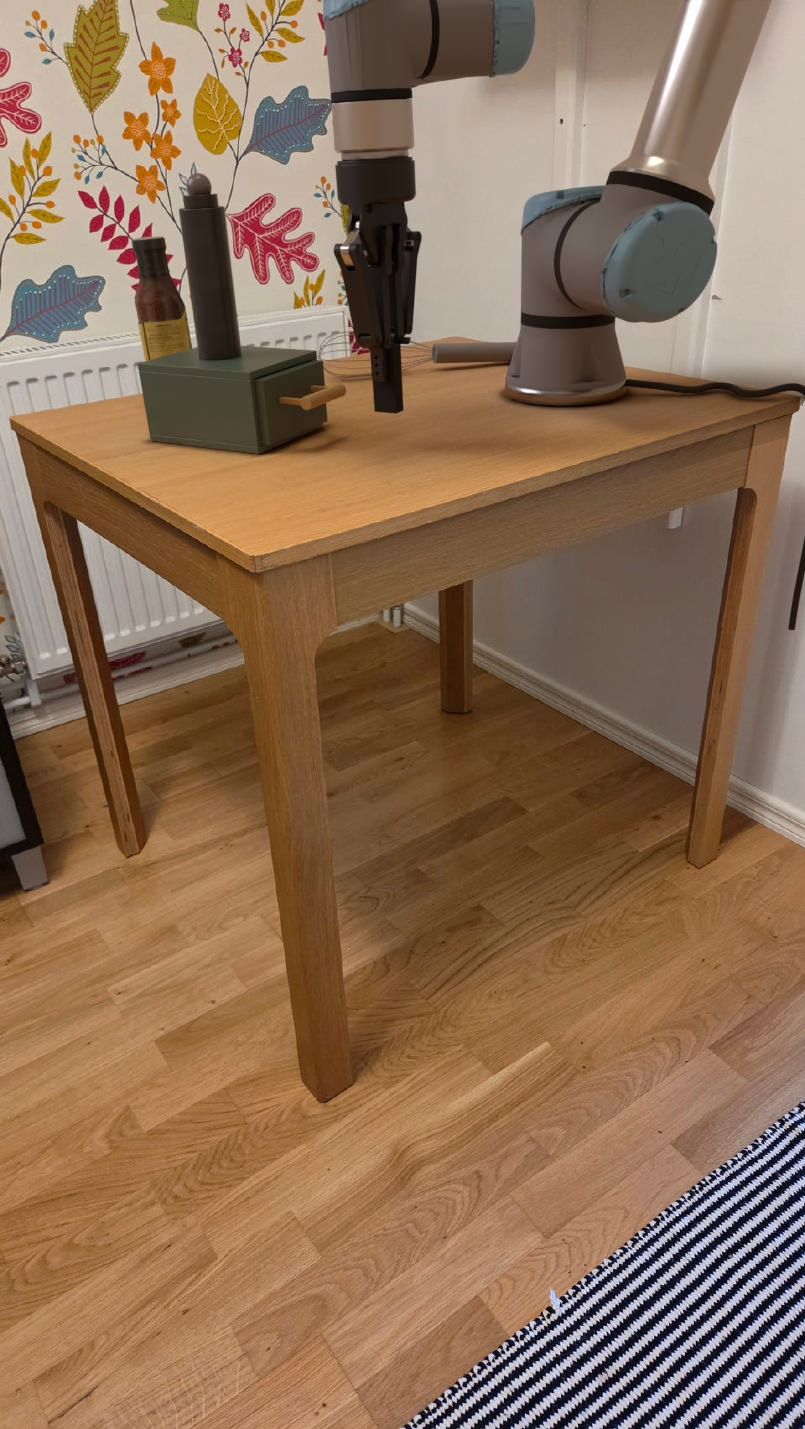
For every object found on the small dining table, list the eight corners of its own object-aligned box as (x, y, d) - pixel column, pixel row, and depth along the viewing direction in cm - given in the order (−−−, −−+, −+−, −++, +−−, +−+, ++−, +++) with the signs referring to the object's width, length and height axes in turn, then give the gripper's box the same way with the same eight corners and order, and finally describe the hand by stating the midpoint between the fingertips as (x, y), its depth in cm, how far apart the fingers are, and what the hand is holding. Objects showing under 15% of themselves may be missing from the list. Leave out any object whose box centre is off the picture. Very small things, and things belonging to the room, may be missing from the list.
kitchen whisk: (551, 363, 144) (552, 316, 141) (324, 387, 137) (320, 339, 134) (535, 356, 149) (536, 311, 146) (315, 379, 142) (311, 332, 139)
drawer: (359, 424, 113) (355, 362, 110) (302, 449, 105) (296, 383, 102) (229, 411, 122) (222, 353, 118) (167, 433, 113) (157, 372, 110)
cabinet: (322, 426, 117) (316, 350, 112) (258, 454, 107) (249, 372, 103) (218, 416, 124) (209, 343, 119) (150, 441, 114) (137, 363, 110)
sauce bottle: (210, 401, 131) (187, 235, 121) (171, 411, 127) (145, 240, 117) (180, 395, 135) (155, 234, 125) (141, 404, 131) (113, 239, 121)
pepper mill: (250, 353, 112) (229, 171, 103) (223, 361, 109) (200, 173, 100) (217, 351, 115) (194, 172, 105) (190, 359, 111) (164, 174, 102)
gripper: (376, 154, 99) (390, 395, 111) (301, 160, 90) (325, 423, 102) (442, 151, 96) (449, 399, 108) (371, 157, 86) (387, 429, 98)
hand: (389, 410), depth 105 cm, fingers closed
